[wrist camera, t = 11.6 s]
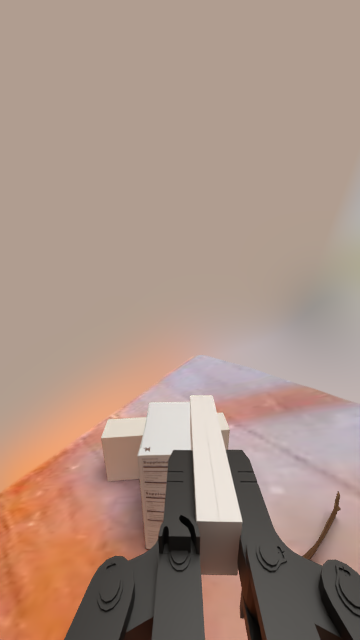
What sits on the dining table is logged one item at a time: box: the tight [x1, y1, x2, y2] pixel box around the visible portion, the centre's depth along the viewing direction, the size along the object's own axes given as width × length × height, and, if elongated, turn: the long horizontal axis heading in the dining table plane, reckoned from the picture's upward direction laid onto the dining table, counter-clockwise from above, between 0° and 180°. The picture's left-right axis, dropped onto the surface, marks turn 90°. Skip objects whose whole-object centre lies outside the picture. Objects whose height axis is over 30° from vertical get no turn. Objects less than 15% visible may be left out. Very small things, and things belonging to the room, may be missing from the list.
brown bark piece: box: [302, 491, 340, 560], centre depth 25 cm, size 15×2×5 cm, turn 121°
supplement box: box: [137, 402, 191, 549], centre depth 28 cm, size 10×9×17 cm
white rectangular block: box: [101, 413, 230, 481], centre depth 35 cm, size 4×22×10 cm, turn 94°
